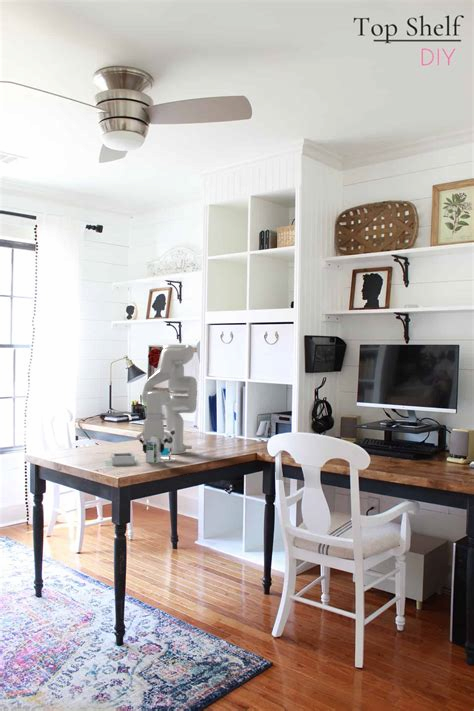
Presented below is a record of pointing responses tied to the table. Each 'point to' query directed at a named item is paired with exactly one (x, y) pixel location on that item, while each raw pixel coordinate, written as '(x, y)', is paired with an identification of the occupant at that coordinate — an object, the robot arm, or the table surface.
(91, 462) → the table surface
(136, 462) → the deck plate
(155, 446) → the syrup box
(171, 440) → the panda figurine
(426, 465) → the table surface
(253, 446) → the table surface
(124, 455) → the chute collar
